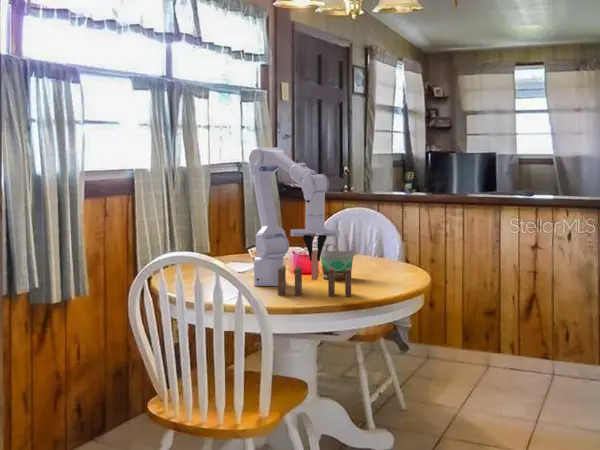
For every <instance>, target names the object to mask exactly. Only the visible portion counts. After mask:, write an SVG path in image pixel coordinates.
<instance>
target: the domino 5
mask: <svg viewBox="0 0 600 450" xmlns="http://www.w3.org/2000/svg"><path fill="white" fill-rule="evenodd" d="M344 282H345V285H344V287H345V289H344V293H345V294H344V295H345V296H344V297H345V298H351V297H352V271H351V268H346V270H345V281H344Z"/></svg>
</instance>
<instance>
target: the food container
mask: <svg viewBox="0 0 600 450" xmlns="http://www.w3.org/2000/svg"><path fill="white" fill-rule="evenodd" d="M355 256H356V254H355V250H354V248H352V249H351V250H344V251H343V250H332V251H331V250H324V249H322V251H321V256H320V261H321V270H322V271H321V272H322V279H323V280H325V281H328V270H329V267H335V282H345V270H346V268H351V272H352V270H353V269H352V267H353V261H354V260H353V259H354V257H355Z"/></svg>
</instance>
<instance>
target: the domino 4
mask: <svg viewBox="0 0 600 450" xmlns="http://www.w3.org/2000/svg"><path fill="white" fill-rule="evenodd" d="M327 281H328V288H327V289H328V293H327V294H328V296H327V297H329V298H334V297H335V288H336V286H335V283H336V281H335V267H329V270H328V280H327Z"/></svg>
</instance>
